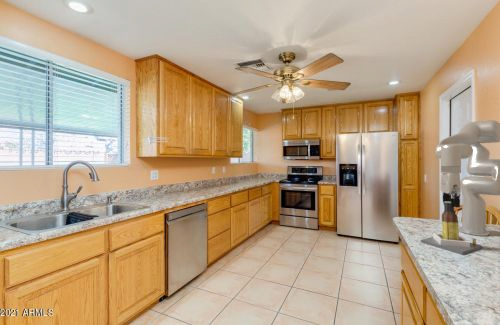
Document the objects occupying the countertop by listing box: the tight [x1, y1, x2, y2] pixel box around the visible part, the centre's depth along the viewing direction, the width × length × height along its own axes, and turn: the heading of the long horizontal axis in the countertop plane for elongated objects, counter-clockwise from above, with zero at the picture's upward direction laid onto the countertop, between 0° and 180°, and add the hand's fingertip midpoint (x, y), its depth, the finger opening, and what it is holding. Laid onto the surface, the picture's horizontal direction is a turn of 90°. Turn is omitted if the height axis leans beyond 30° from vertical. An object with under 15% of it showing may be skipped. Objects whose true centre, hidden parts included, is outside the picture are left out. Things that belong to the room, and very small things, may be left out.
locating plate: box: [420, 232, 483, 255], centre depth 115 cm, size 17×17×4 cm
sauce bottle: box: [441, 201, 460, 241], centre depth 115 cm, size 6×6×20 cm
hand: (450, 204), depth 115 cm, fingers open, 9 cm apart
